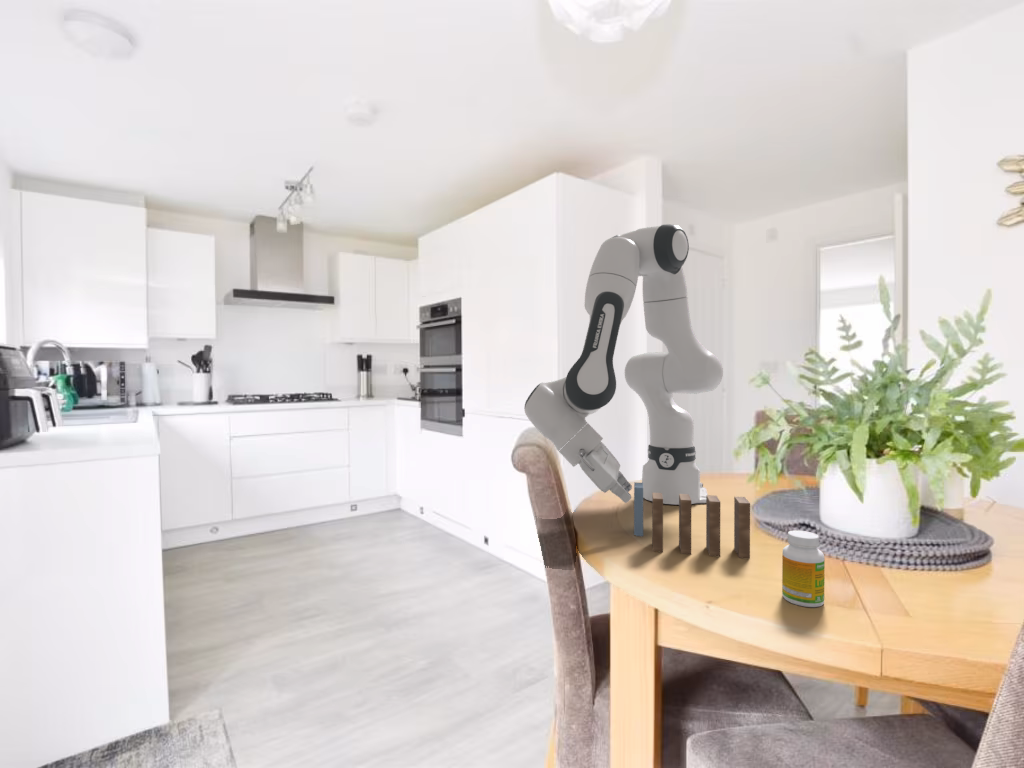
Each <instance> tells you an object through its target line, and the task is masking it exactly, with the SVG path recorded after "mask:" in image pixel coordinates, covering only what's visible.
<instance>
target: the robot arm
mask: <svg viewBox="0 0 1024 768" xmlns="http://www.w3.org/2000/svg"><path fill="white" fill-rule="evenodd" d="M689 249H690V247H689V239H688V236H687V234H686V232H685V231H684V229H682V228H681V227H680V226H679V225H678V224H677V225H676V224H669V223H667V224H661V225H658V226H649V227H648V226H647V227H642V228H637V229H636V230H633V231H630V232H626V233H623V234H616V235H614V236H612V237H610V238H608V239H606V240H605V241H603V242H602V244H601V245H600V247H599V249H598V250H597V253H596V255H595V258H594V260H593V262H592V265H591V268H590V271H589V275H588V277H587V283H586V285H585V286H586V287H585V293H584V309H585V312H586V313H587V314H588V315H589V322H588V326H587V327H588V328H587V331H586V336H585V340H584V345H583V347H582V352H581V354H580V355H579V356H580V357H579V358H578V359H577V360H576V361H575V362H574V364H573V365H572V366H571V368H570V369H569V370H568V372H567V375H566V377H563V378H561V379H557V380H554V381H549V382H548V381H547V382H541V383H539V384H537V385H536V386H535V387H534V389H533V390H532V391H531V393H530V394H529V395H528V396H527V399H526V400H525V404H524V413H525V415H526V417H527V419H528V420H529V421H530V422H531V424H532V425H533V426H534V428H536V429H537V431H538V432H539V433H541V435H542V436H543V437H544V438H546V439H548V440H549V441H550V442H551V443H552V444H553V445H554V447H555V449H556V450H557V451H558V452H559V454H560V455H561V456H562V457H563V458H564V459H565V460H566V461H567V462H568V464H570V465H571V466H572V467H573V468H574V467H576V466H577V465H579V467H580V468H581V470H582V472H584V474H585V475H586V476H587V477H588V478H589V480H590V481H591V482H592V484H594V485H595V487H597V488H598V489H599V490H600V491H601V492H603V493H604V494H605V493H608V491H610V492H611V493H612V494H614V496H616V497H618V498H619V499H620V500H621V501H622V502H623V503H625V504H628V503H629V502H630V500H631V499H632V495H631V494H630V491H632V489H633V486H632V484H631V482H629V481H628V480H627V479H626V477H625V476H624V474H623V473H622V472H621V471H620V470H621V469H620V468H621V464H620V462H619V461H618V459H617V458H616V457H615V456H614V455H613V453H612V451H610V450H609V449H608V447H607V446H606V445H605V444H604V443H603V442H602V441H603V439H604V438H603V437H602V436H601V435H600V434H599V432H597V430H595V428H593V426H591V425H590V424H589V422H588V421H586V418H587V417H589V416H590V415H592V414H594V413H596V412H598V411H599V410H600V409H602V408H603V407H604V406H606V405H608V404H609V403H610V402H611V400H612V399H613V397H614V396H615V394H616V390H617V380H616V379H617V378H616V373H615V369H614V355H615V349H616V345H617V340H618V336H619V332H620V331H619V330H620V326H621V324H622V322H623V320H624V319H625V318H626V316H627V315H628V313H629V310H630V308H631V305H632V303H633V301H634V297H635V294H636V290H637V285H638V280H639V279H638V278H639V277H642V301H643V304H642V306H643V312H644V323H645V325H644V326H645V331H647V333H648V334H649V335H650V336H651V337H652V338H655V339H656V340H659V341H661V343H663V344H664V346H665V347H666V349H667V351H663V352H662V351H660V352H645V353H641V354H637V355H633V356H631V357H630V358H629V359H628V361H627V363H626V364H625V367H624V379H625V382H626V384H627V386H628V387H629V388H630V389H631V390H632V391H634V392H635V393H636V394H637V395H638V397H639V398H640V399H641V401H642V402H643V404H644V407H645V410H646V412H647V416H648V425H649V444H648V447H647V459H648V461H647V462H646V463H645V464H643V465H642V472H641V473H642V475H641V483H643V499H644V500H647V501H650V502H652V493H662V496H663V505H676V506H677V505H678V506H679V494H689V496H690V498H691V505H693V504H694V505H695V504H706V495H709V494H708V490H707V488H706V487H704V483H703V482H701V469H699V466H697V463H696V453H697V452H696V448H695V446H694V419H693V416H692V415H691V413H690V412H689V411H688V410H686V409H684V408H682V407H680V406H679V405H678V404H677V403H676V401H675V400H674V395H673V394H690V395H691V394H696V395H697V394H701V393H708V392H709V393H710V392H713V391H715V390H716V389H717V388H718V387H719V386H720V384H721V382H722V379H723V377H724V376H723V375H724V368H723V364H722V363H721V360H720V359H719V357H718V356H717V355H716V354H714V353H712V351H709V350H708V349H707V348H706V347H705V346H704V345H703V344H702V343H701V342H700V340H699V339H698V337H697V335H696V334H695V331H694V330H693V326H692V322H691V317H690V310H689V300H688V299H689V297H688V287H687V281H686V278H685V277H686V276H685V273H684V270H683V266H684V264H685V262H686V261H687V259H688V254H689V251H690V250H689Z"/></svg>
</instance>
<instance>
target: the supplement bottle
mask: <svg viewBox="0 0 1024 768" xmlns="http://www.w3.org/2000/svg"><path fill="white" fill-rule="evenodd" d="M787 542H788V544H787V545H786V546H784V547H783V549H782V557H781V558H782V567H781V568H782V569H781V570H782V571H781V572H782V573H781V574H782V576H781V577H782V579H781V581H782V582H781V586H782V587H781V594H782V597H783V598H784V600H786V601H787V602H789V603H791V604H793V605H796V606H800V607H805V608H819V607H821V606H824V604H825V576H826V575H825V562H826V561H825V555H824V552H823V551H822V550H820V549H819V546H820V536H819V535H818V534H817V533H813V532H810V531H805V530H798V529H797V530H795V529H793V530H790V531H789V530H788V532H787Z"/></svg>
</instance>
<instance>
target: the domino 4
mask: <svg viewBox="0 0 1024 768" xmlns="http://www.w3.org/2000/svg"><path fill="white" fill-rule="evenodd" d="M705 505H706V512H705V513H706V515H705V518H706V520H705V521H706V523H705V524H706V527H705V528H706V529H705V530H706V533H705V534H706V535H705V537H706V539H705V546H706V550H707V552H708V553H707V554H709V557H719V558H720V557H721V501H720V498H719V497H718V496H717V495H712V494H711V495H709V494H708V495H706V503H705Z"/></svg>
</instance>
